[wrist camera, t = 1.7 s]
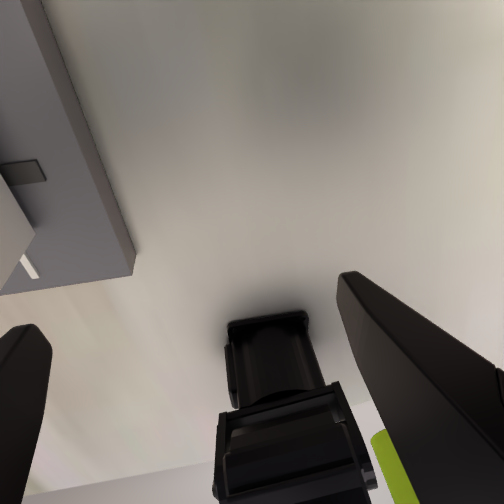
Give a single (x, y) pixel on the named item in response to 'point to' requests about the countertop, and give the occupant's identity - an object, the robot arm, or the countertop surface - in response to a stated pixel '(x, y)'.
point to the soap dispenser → (393, 469)
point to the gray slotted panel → (53, 163)
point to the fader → (11, 232)
